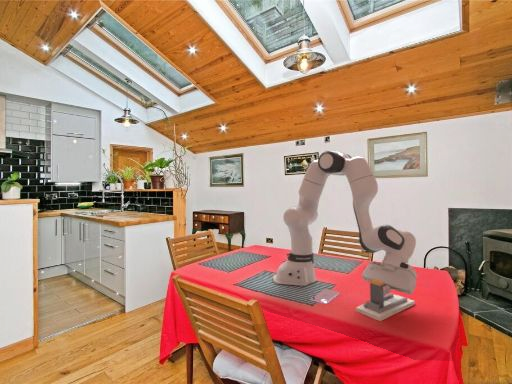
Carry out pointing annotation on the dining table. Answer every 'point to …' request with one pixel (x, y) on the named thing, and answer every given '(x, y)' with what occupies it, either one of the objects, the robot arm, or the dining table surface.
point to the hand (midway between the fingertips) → (379, 295)
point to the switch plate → (385, 307)
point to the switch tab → (376, 292)
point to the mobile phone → (325, 296)
